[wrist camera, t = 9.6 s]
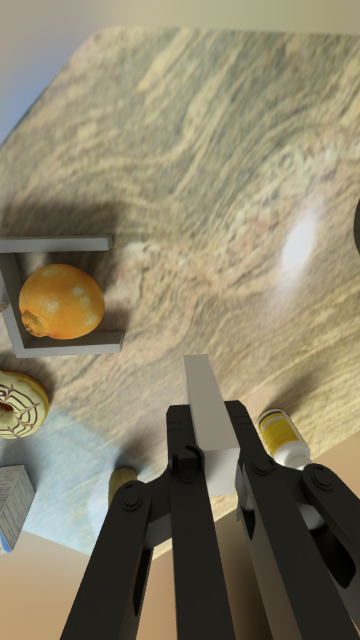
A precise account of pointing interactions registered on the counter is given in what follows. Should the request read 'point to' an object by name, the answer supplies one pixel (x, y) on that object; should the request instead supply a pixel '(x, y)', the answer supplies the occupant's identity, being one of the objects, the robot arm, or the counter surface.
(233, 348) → the counter surface
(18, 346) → the flagpole corner frame
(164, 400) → the counter surface
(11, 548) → the medicine box
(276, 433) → the supplement bottle
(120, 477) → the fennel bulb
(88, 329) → the fruit
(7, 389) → the decorated donut
